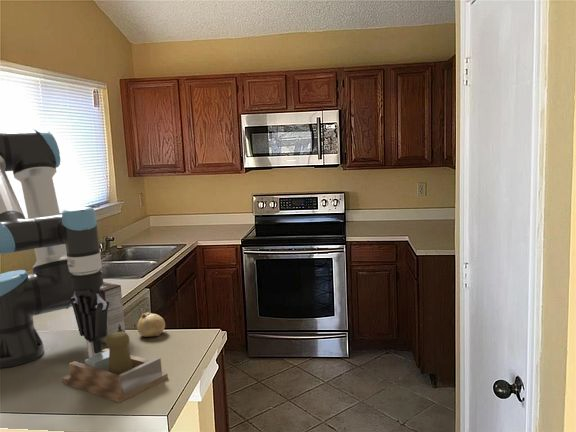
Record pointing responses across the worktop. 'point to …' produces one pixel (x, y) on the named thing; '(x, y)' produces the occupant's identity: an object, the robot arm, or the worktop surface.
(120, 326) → the coffee box
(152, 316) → the onion
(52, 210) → the robot arm
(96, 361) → the block
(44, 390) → the worktop surface
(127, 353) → the cork
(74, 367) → the rail board
